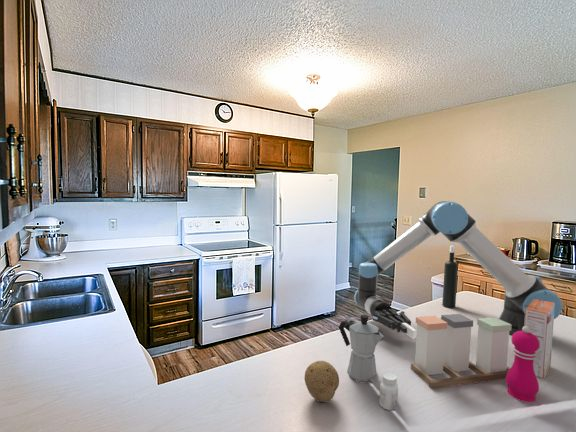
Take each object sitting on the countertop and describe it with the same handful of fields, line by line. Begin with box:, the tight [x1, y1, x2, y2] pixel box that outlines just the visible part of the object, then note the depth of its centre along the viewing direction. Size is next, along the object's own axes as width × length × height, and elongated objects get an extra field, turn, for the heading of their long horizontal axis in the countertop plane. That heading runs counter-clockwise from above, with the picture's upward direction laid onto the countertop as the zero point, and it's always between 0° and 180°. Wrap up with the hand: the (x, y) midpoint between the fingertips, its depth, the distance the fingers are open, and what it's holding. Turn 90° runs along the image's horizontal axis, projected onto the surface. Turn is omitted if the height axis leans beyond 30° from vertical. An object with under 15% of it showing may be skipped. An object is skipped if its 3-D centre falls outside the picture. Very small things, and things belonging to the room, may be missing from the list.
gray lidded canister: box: [440, 313, 474, 373], centre depth 100 cm, size 6×7×16 cm
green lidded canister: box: [475, 316, 512, 373], centre depth 98 cm, size 6×7×16 cm
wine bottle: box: [441, 244, 459, 309], centre depth 159 cm, size 6×6×30 cm
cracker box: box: [524, 299, 555, 379], centre depth 102 cm, size 14×6×21 cm, turn 134°
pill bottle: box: [379, 372, 399, 411], centre depth 83 cm, size 4×4×8 cm
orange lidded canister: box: [414, 315, 448, 376], centre depth 98 cm, size 6×7×16 cm
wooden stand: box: [410, 360, 511, 390], centre depth 98 cm, size 13×31×3 cm, turn 103°
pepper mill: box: [505, 326, 540, 403], centre depth 87 cm, size 7×7×20 cm
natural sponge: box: [304, 360, 340, 403], centre depth 85 cm, size 9×9×10 cm
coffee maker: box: [338, 314, 385, 383], centre depth 97 cm, size 15×9×18 cm, turn 47°
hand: (414, 334), depth 105 cm, fingers closed
